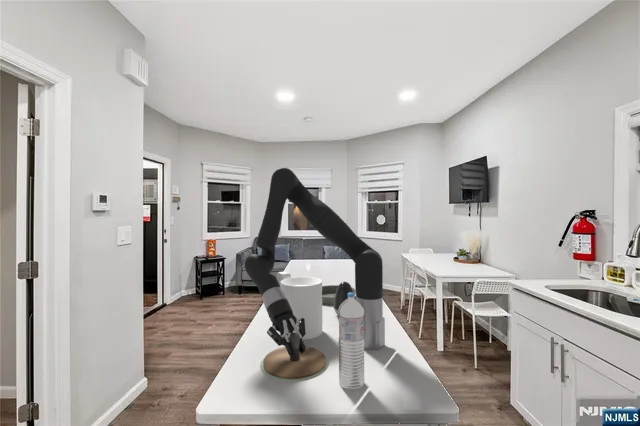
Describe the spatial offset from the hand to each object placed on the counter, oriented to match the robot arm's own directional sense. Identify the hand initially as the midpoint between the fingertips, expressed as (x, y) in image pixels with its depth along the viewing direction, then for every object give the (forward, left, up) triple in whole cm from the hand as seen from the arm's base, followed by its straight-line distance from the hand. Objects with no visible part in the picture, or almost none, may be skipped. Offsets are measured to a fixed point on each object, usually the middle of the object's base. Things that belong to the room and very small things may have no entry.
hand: (298, 353), depth 94 cm
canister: (+14, -23, -4) cm, 27 cm away
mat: (+2, -1, -4) cm, 5 cm away
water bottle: (-18, +1, -4) cm, 19 cm away
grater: (+30, -33, -4) cm, 44 cm away
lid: (+2, -1, -3) cm, 4 cm away
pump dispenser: (+8, -49, -4) cm, 49 cm away
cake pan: (+25, -71, -5) cm, 75 cm away
